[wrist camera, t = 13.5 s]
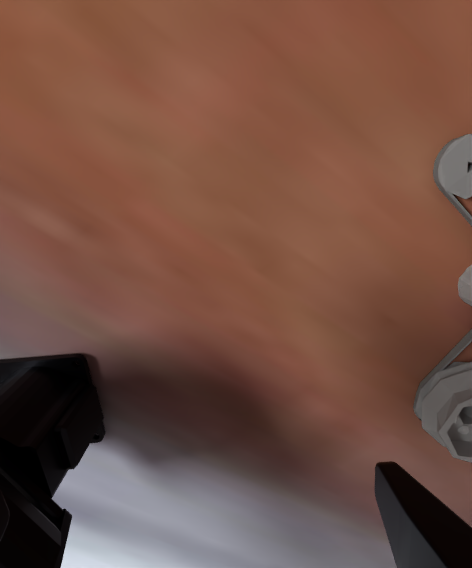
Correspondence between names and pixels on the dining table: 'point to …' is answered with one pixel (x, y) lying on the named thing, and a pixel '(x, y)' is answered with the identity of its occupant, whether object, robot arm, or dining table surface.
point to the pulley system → (463, 375)
